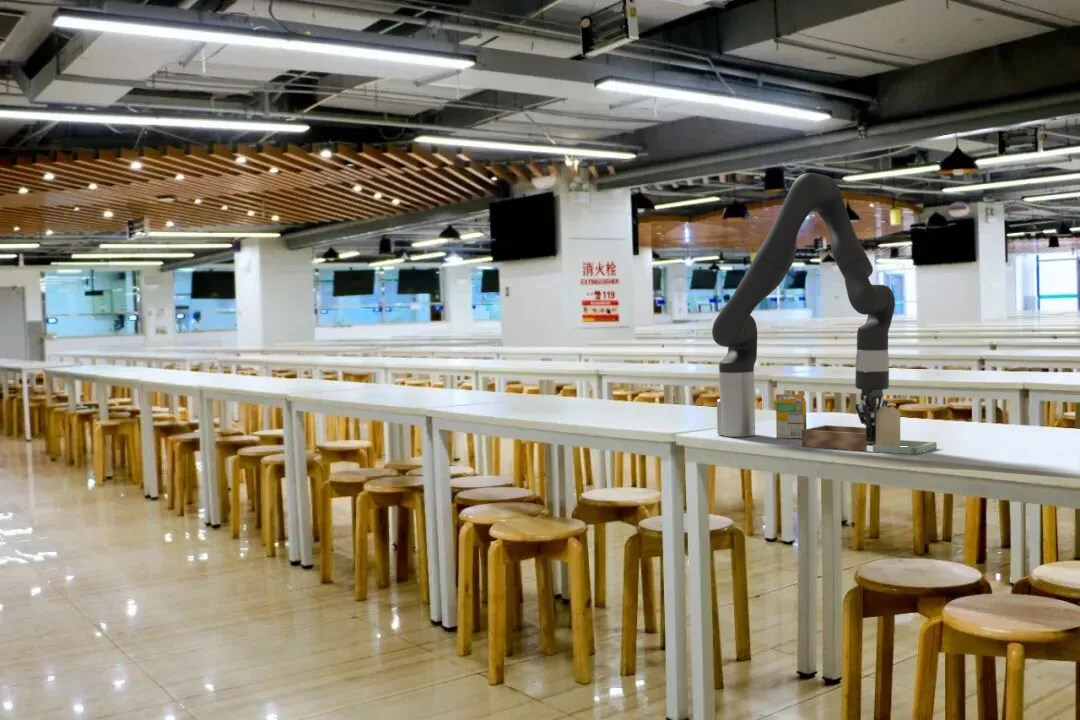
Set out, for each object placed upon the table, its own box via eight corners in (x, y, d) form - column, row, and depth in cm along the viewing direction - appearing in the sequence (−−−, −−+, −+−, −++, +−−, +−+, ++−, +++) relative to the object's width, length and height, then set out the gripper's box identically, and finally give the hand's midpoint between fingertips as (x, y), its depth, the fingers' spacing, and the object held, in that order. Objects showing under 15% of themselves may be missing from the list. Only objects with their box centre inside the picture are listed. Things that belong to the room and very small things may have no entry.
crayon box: (807, 437, 252) (806, 393, 251) (804, 439, 249) (803, 394, 249) (779, 437, 255) (778, 393, 255) (776, 438, 253) (775, 394, 252)
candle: (905, 449, 226) (905, 406, 226) (887, 450, 224) (887, 408, 223) (888, 446, 231) (887, 404, 231) (870, 448, 229) (870, 406, 228)
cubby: (802, 446, 236) (801, 430, 236) (825, 440, 245) (825, 425, 244) (864, 451, 225) (864, 434, 225) (886, 445, 234) (886, 428, 233)
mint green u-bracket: (873, 451, 224) (872, 445, 223) (894, 445, 232) (894, 439, 232) (915, 454, 217) (915, 448, 217) (936, 448, 225) (936, 442, 225)
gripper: (869, 366, 236) (868, 436, 237) (844, 370, 227) (843, 443, 228) (899, 367, 231) (898, 439, 232) (875, 371, 221) (874, 446, 222)
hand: (871, 441), depth 230 cm, fingers closed
